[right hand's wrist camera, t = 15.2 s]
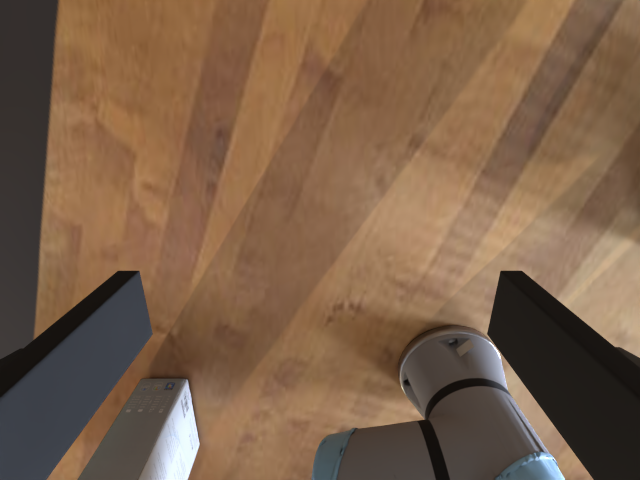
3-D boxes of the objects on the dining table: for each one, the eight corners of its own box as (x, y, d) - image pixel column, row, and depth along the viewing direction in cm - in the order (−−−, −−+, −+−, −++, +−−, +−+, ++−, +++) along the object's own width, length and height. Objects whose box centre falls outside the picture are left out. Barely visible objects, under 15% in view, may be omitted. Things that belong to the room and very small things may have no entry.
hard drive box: (139, 376, 55) (48, 518, 36) (188, 376, 55) (121, 518, 36) (157, 445, 60) (86, 598, 42) (201, 445, 60) (149, 597, 42)
